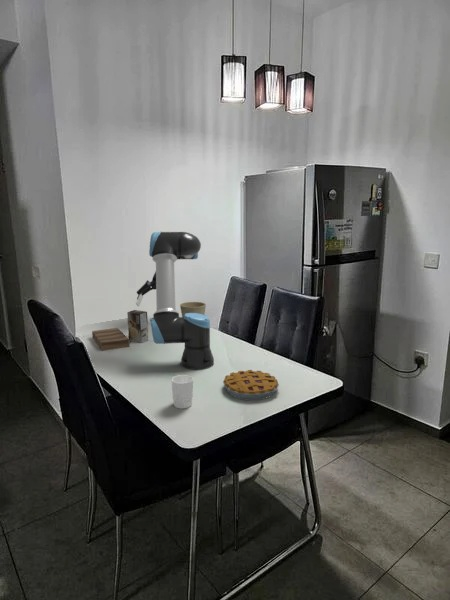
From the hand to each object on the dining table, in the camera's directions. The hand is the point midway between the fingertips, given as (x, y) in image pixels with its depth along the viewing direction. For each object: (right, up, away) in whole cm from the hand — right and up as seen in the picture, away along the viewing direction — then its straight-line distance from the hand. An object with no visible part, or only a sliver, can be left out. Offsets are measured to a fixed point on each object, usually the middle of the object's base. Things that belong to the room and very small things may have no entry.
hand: (147, 306), depth 229 cm
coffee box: (-4, -19, -6) cm, 20 cm away
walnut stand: (-18, -19, -9) cm, 28 cm away
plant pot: (+24, -15, +13) cm, 31 cm away
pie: (+53, -33, -66) cm, 91 cm away
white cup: (+28, -35, -79) cm, 91 cm away
